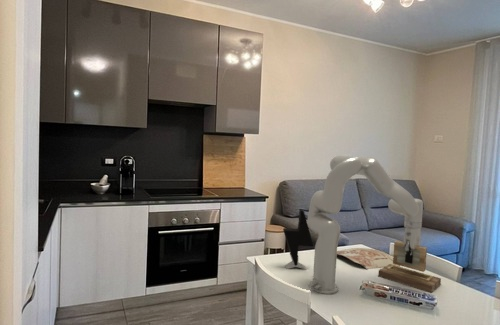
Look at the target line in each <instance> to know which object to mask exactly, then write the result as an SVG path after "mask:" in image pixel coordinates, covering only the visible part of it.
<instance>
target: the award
mask: <svg viewBox="0 0 500 325" xmlns="http://www.w3.org/2000/svg"><path fill="white" fill-rule="evenodd" d="M298 212H299V213H298V221H297V222H298V224H297V228H289V227H287V228H285V227H283V233H284V236H285V239H286V240H285V241H286V243H287V246H288V249H289V250H288V251H289V255H290V256H289V257H290V259H291V261H290V262H288V263H286V264H285V265H284V266H286V267H285V268H286V270H289V269H293V268H300V269H302V270H308V269H307V267H306V266H305V265H304V264H302V263H301V262H299V246H300V247H301V246H302V247H314V243H313V238H312V236H311V233H310V232H311V231H310V230H309V228H308V224H307V221H308V220H307V218H306V217H307V216H306V215H305V211H304V210H303V209H302V208H300V209H299V211H298Z"/></svg>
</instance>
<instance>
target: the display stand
mask: <svg viewBox="0 0 500 325" xmlns="http://www.w3.org/2000/svg"><path fill="white" fill-rule="evenodd" d="M377 274H378V277H380V278H383V279H386V280H389V281H392V282H395V283H398V284H402V285H405V286H409V287H412V288H415V289H418V290H421V291H424V292H427V293H430V294H431V293H433V292H434V291H435V290H437V288H438V287H440V286H441V281H442V278H441V277H437V276H433V275H431V274H427V273H424V272H421V271H417V270H414V269H410V268H407V267H403V266H395V265H392V264H389V265H387V266H386V267H383V268H379V269H378V273H377Z"/></svg>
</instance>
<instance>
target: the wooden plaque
mask: <svg viewBox="0 0 500 325" xmlns="http://www.w3.org/2000/svg"><path fill="white" fill-rule="evenodd" d="M409 248H411V247H409ZM405 252H406V251H405V247H404V241H401V240H400V241H399V240H395V241H394V244H393V254H392V255H393V256H392V257H393V264H397V265H400V266H399V267H403V268H406V269H410V270H414V271H417V272H421V273H424V272H425V271H426V268H427V267H426V266H427V252H428V247H427V246H421V245H420V246H417V247H416V249H415V250H413V252H412V255H413V261H412V264H410V263H407V262H405ZM410 252H411V250H410Z"/></svg>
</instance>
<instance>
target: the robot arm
mask: <svg viewBox="0 0 500 325" xmlns="http://www.w3.org/2000/svg"><path fill="white" fill-rule="evenodd" d="M329 167H330V172H329V173H328V175H327V176H326V179H325V182H324V185H323V190H321V189H320V190H317V191H315V192H314V194H313V195H312V197H311V199H310V202H309V207H308V208H309V209H308V215H307V220H306V221H307V224H308V228H309V231H310V232H312V233H313V234H314V235H317V238H316V241H315V245H314V258H313V259H314V260H313V274H312V275H313V276H312V281H309V283H308V284H307V288H308V289H310V290H312V291H314V292H317V293H318V294H326V295H330V294H331V295H332V294H337V292H338V291H339V286H338V284H337V283H336V271H337V258H338V257H337V256H338V254H337V251H338V244H339V239H340V235H341V226H340V224H339V221H337V220H336V219H334V218H332V217H330V216H328V215H332V216H333V215H338V213H339V212H340V211H341V208H342V205H343V198H344V191H345V188H346V184H347V182H348V181H349V180H350V179H351V178H352V177H353V176H356V175H358V176H359V175H360V176H364V177H365V178H366V179H367V180H368V182H369V183H370V184H371V185H372V186H373V188H374V189H375V190H376V191H377V193H379V194H381V195H382V196H385V197H387V198H389V201H388V203H387V206H388V209H389V210H390V212H392V213H395V214H397V215H401V216H404V223H403V224H404V225H403V227H404V228H405V229H404V235H403V242H404V247H405V251H406V252H405V262H407V263H410V264H412V261H413V255H412V252H413V250H415V249H416V247H417V246H421V239H422V238H421V236H422V232H421V231H422V226H423V225H422V224H423V211H424V210H423V209H424V201H423V200H422V199H419V198H414V196H413V195H412V194H411V192H409V191H408V190H407V189H405V188H404V187H402V185H400V184H399V183H397V182H396V181H395V180H394V179H393V178H392V177H391V176H390V175H389V174H388V172H387V171H386V170H385V168H384V167H383V166H382V164H381V162H379V161H378V160H377V159H375V158H373V157H365V156H364V157H363V156H349V155H348V156H347V155H336V156H333V157H332V159H331V160H330V163H329ZM409 247H411V248H409ZM410 250H411V252H410Z"/></svg>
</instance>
